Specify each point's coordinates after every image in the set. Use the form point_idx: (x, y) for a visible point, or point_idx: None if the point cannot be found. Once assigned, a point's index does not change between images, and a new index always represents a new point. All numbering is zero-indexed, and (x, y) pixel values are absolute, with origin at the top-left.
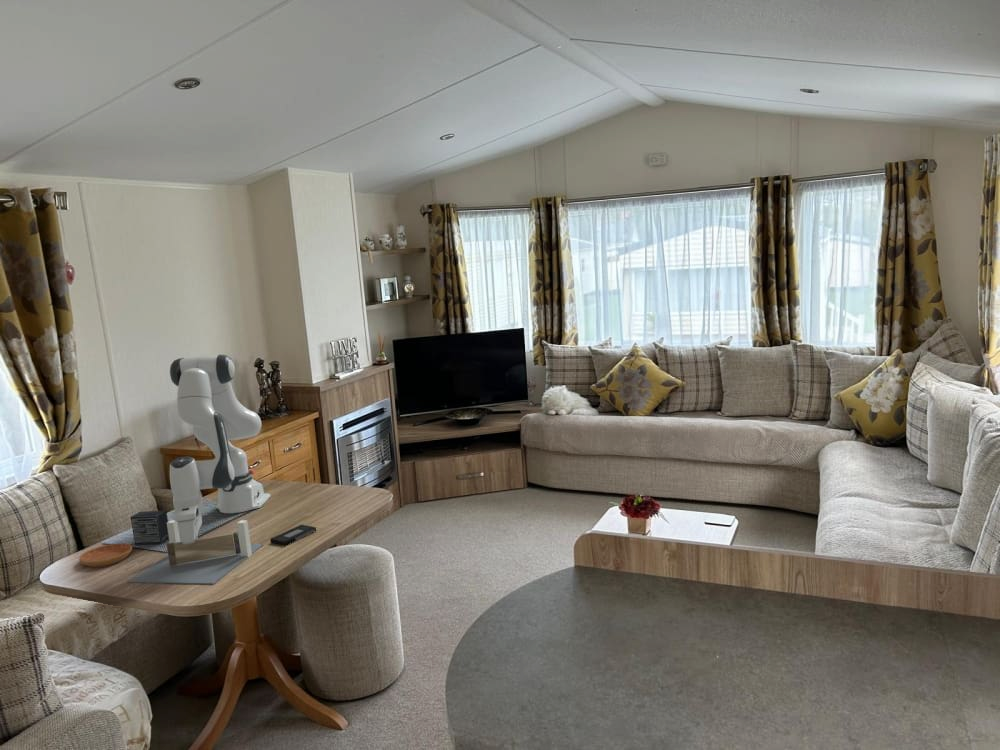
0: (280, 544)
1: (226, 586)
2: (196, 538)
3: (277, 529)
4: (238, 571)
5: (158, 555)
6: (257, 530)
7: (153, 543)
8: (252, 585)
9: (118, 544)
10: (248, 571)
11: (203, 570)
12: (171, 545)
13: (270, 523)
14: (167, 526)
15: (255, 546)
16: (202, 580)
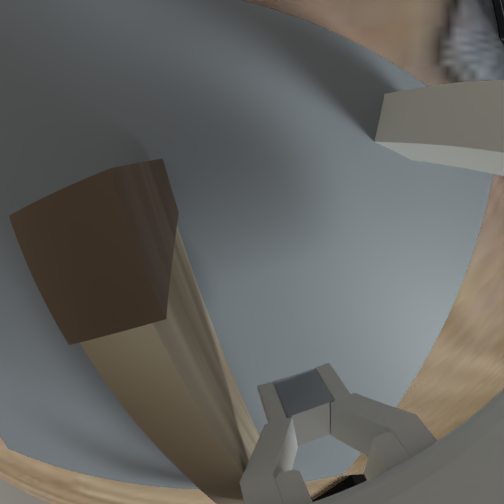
0: (319, 498)
1: (16, 466)
2: (350, 441)
3: (442, 430)
4: (113, 487)
5: (404, 15)
6: (471, 384)
7: (496, 11)
8: (45, 499)
9: None
10: (117, 500)
11: (84, 411)
12: (52, 300)
13: (489, 386)
14: None
15: (332, 469)
16: (5, 420)
